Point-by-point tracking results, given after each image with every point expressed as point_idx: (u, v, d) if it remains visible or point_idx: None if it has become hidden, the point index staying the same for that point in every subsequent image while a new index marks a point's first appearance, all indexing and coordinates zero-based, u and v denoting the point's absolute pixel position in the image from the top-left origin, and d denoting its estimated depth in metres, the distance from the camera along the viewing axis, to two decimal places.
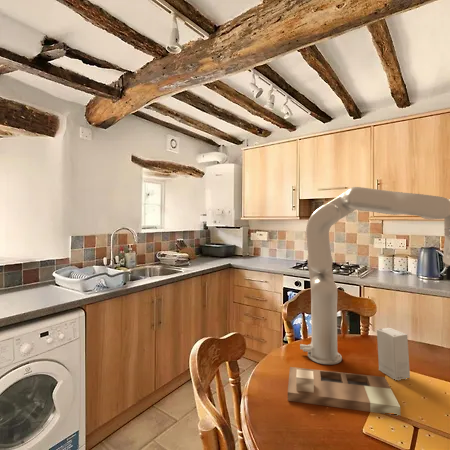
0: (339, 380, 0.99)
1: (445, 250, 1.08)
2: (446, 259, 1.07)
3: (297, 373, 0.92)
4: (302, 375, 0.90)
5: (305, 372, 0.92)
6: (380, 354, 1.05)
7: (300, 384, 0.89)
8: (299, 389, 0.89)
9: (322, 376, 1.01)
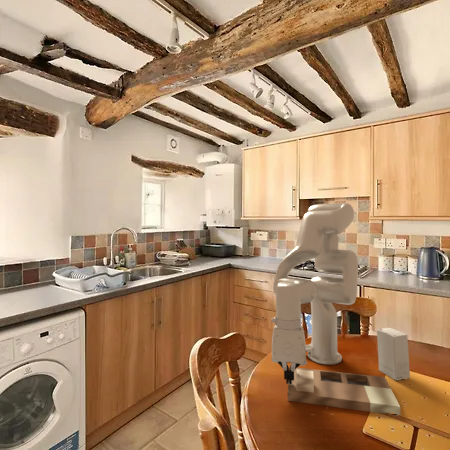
0: (339, 380, 0.99)
1: (279, 345, 0.90)
2: (282, 356, 0.90)
3: (297, 373, 0.92)
4: (302, 375, 0.90)
5: (305, 372, 0.92)
6: (380, 354, 1.05)
7: (300, 384, 0.89)
8: (299, 389, 0.89)
9: (322, 376, 1.01)
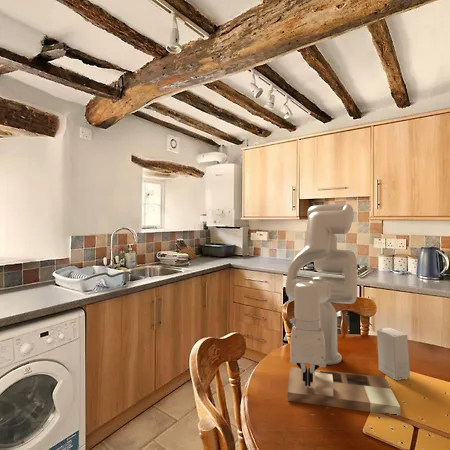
0: (339, 380, 0.99)
1: (298, 346, 0.89)
2: (301, 357, 0.89)
3: (316, 376, 0.90)
4: (321, 378, 0.88)
5: (324, 375, 0.90)
6: (380, 354, 1.05)
7: (319, 388, 0.87)
8: (318, 393, 0.87)
9: None
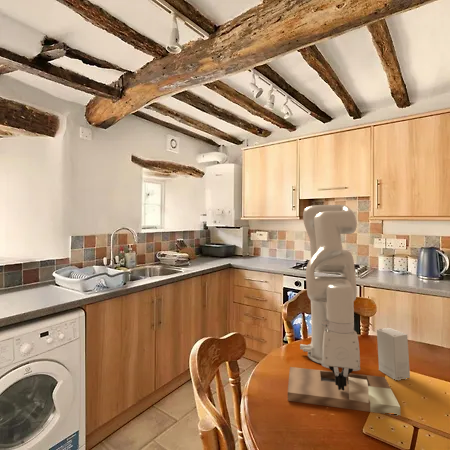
0: None
1: (332, 349, 0.86)
2: (335, 361, 0.86)
3: (349, 381, 0.87)
4: (356, 384, 0.85)
5: (359, 380, 0.87)
6: (380, 354, 1.05)
7: (353, 393, 0.84)
8: (352, 398, 0.84)
9: (322, 376, 1.01)
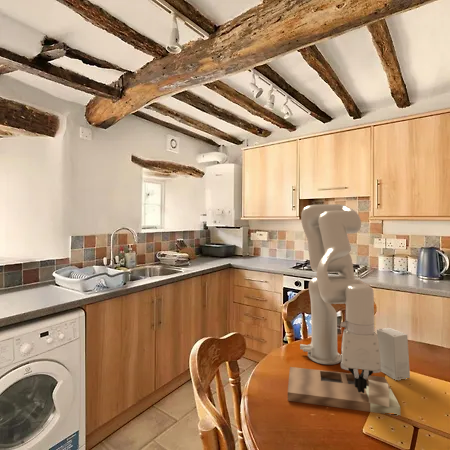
0: (339, 380, 0.99)
1: (352, 351, 0.85)
2: (355, 363, 0.85)
3: (369, 384, 0.85)
4: (376, 387, 0.83)
5: (379, 384, 0.85)
6: (380, 354, 1.05)
7: (373, 396, 0.82)
8: (372, 401, 0.83)
9: (322, 376, 1.01)
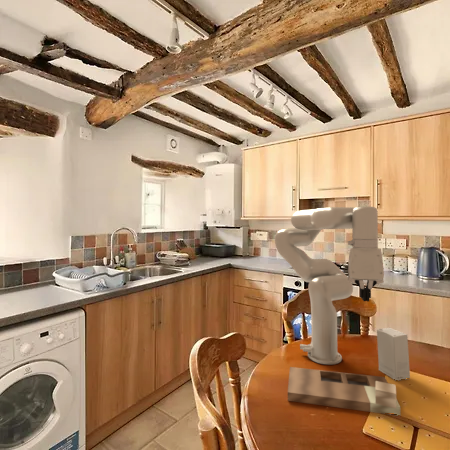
0: (339, 380, 0.99)
1: (358, 264, 0.96)
2: (361, 274, 0.95)
3: (376, 385, 0.84)
4: (383, 388, 0.83)
5: (386, 385, 0.84)
6: (380, 354, 1.05)
7: (380, 398, 0.82)
8: (379, 403, 0.82)
9: (322, 376, 1.01)
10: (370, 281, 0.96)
